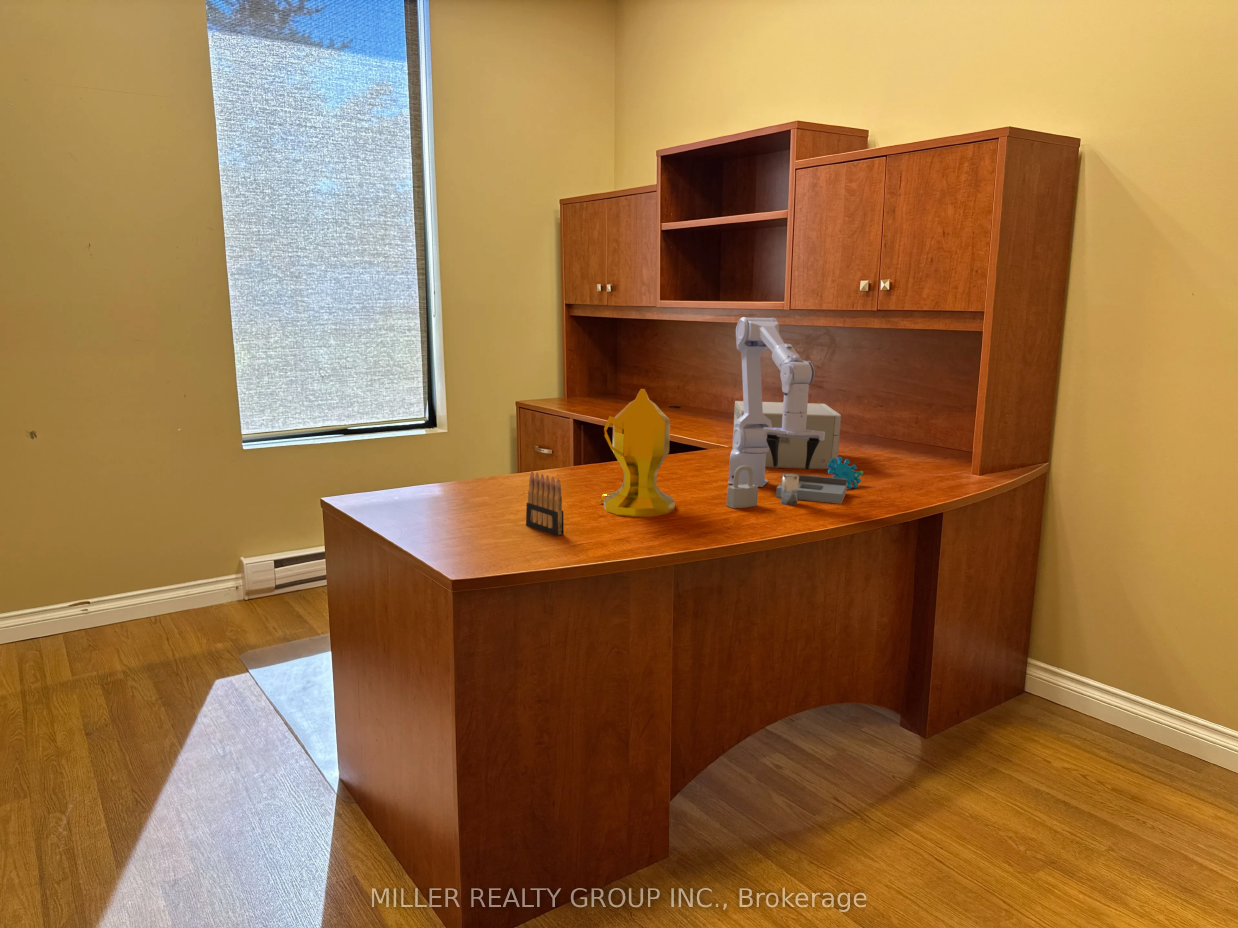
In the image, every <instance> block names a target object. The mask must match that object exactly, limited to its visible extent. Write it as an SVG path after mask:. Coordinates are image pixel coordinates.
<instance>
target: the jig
mask: <svg viewBox="0 0 1238 928" xmlns="http://www.w3.org/2000/svg"><path fill="white" fill-rule="evenodd" d="M783 474H790V472H789V473H787V472H784V473H783ZM795 474H796V475H799V484H798V499H797V500H800V501H801V500H803V501H811V502H819V503H820V502H821V503H830V504H837V505H838V504H842V503H843V500H844V498H845V496H846V493H847V488H846V486H847V485H848V484H847V479H842V478H832V477H833V476H832V477H829V476H820V475H811V474H810V475H809V474H799V473H795ZM781 488H782V481H781V482H780V483H779V484H778V485H777V487H776V490H775V491H776V493H775V497H776V498H780V499H781Z"/></svg>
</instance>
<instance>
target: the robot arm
mask: <svg viewBox="0 0 1238 928" xmlns="http://www.w3.org/2000/svg"><path fill="white" fill-rule="evenodd" d="M735 341H736V342H735V343H736V350H737V351H739V352H740V353H741V371H742V375H741V377H742V378H741V379H742V397H743V400H742V401H743V403H744V415H743V416H741V417H740V418H739V419H738V420H737V421H736V422H735V423H734V422H733V430H734V432H733V431H732V432H733V434H732V444H733V443H734V446H735V447H736V449H737V450H731V452H730V455H729V462H728V463H729V465H728V482H727V484H729V485H733V483H734V473H735V470H736V469H737V468H738V467H740V466H743V465H746V466H749V467H751V468H752V471H753V484H752V485H755V486H758V488H763V487H764V486H765V485H766V484H767V483H768V482H769V480H768V479H766V467H765V465H766V452H769V449H770V451H771V454H772V459H773V466H774V467H776V466H777V465H778V446H779V438H780V437H788V438H801V439H809V440H808V441H807V458H806V465H805V469H804V470H810V469H809V467H810V462H811V459H812V456H813V454H814V451H815V449H816V447H817V445H818V444H819V442H820V441H823V440H824V436H825V432H822V431H814V430H806V420H807V406H808V403H809V389H810V386H811V385H812V384H813V382H814V379H815V374H816V373H815V367H814V365H813V362H812V361H810V360H804V359H802V357H801V356H800V355H799V354H798V352H797V351H796V350H795V348H794V346H793V345H792V343H785V342H784V340H783V338H782V335H780V324H779V322H778V321H777V319H776V318H775V317H745V316H743V317H741V318H740V319H739V320H738V322H737V324H736V327H735ZM768 350H770V351H771V352H772V353H771V359H772V360H771V361H773V362H774V364H775V366H776V367H777V369H778V370H779V371H780V373H779V374H780V380H781V381H780V382H781V390H782V391H781V392H782V393H783V401H782V402H783V416H782V428H772V423H771V420H769V419H768V418H767V417H766V416H765V415H764V414H763V407H762V402H763V387H762V364H761V363H762V362H761V355H762V353H763V352H766V351H768ZM745 425H759V426H752V427H744V426H745ZM785 434H787V435H785ZM794 435H801V436H794ZM742 484H743V485H744V484H748V471H747V470H742V471H740V473H739V478H738V485H742Z"/></svg>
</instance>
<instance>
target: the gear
mask: <svg viewBox="0 0 1238 928" xmlns="http://www.w3.org/2000/svg"><path fill="white" fill-rule="evenodd" d="M843 460H844V458H843V457H842V456H838V458H837V461H838V463H836V458H832V459H831V460H830V461H831V462H830V463H829V464H828V465H827V466H828V467H830V469H829V470H827V474H829V475H833V476H832V478H842V479H847V484H846V490H851V489H852V488H853V489H856V488H858V487H859V484H860V483H861V482H862V479H861V478H859V477H862V476H863V474H864V471H863V470H860V471H857V470H856V469H857V465H856V464H852V465H849V464H850V463H851V461H850V460H849V459H848V458H846V459H845V460H844V461H843ZM842 461H843V463H842ZM833 464H834V466H833ZM832 469H833V470H832Z"/></svg>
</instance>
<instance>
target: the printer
mask: <svg viewBox="0 0 1238 928" xmlns="http://www.w3.org/2000/svg"><path fill="white" fill-rule="evenodd" d="M762 407H763V414H764V415H765V416H766V417H767V418H768V419H769V420H771V423H772V428H782V416H783V401H782V402H779V401H778V402H775V401H762ZM743 415H744V403H743V400H735V401H734V415H733V424H734V423H735V422H736V421H737V420H738V419H739V418H740V417H741V416H743ZM841 421H842V414H840V413H839V412H838V411H836V410H834V409H833V408H831V407H830V406H829V405H827V404H826V403H814V402H813V403H809V402H808V406H807V420H806V430H814V431H822V432H825V436H824V440H823V441H820V442H819V444H818V445H817V447H816V449H815V451H814V454H813V456H812V459H811V462H810V467H809V469H808V470H827V471H828V470H829V469H830V467H828V466H827V465H828V464H829V463H830V462H831V461H830V460H831V459H832V458H836V463H837V464H838V461H837V458H838V457H839V451H840V433H841ZM752 426H759V425H745V426H744V427H752ZM732 432H734V429H733V431H732ZM785 435H787V434H785ZM794 436H801V435H794ZM808 440H809V439H801V438H788V437H780V438H779V446H778V465H777V466H776V467H774V466H773V459H772V454H771V451H770V449H769V452H766V465H765V468H779V469H798V470H799V469H802V470H806V469H805V465H806V458H807V441H808ZM732 450H737V449H736V447H735V446H734V443H733V442H732ZM732 450H731V451H732ZM833 466H834V464H833ZM832 470H833V469H832ZM833 471H834V470H833Z"/></svg>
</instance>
